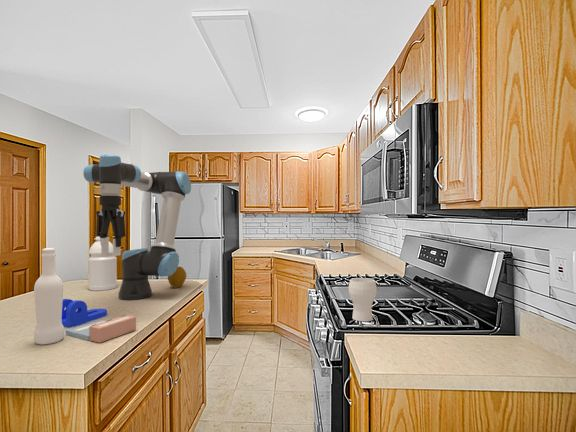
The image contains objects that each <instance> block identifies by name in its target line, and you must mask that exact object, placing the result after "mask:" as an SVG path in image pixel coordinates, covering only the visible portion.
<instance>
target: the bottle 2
mask: <svg viewBox="0 0 576 432" xmlns="http://www.w3.org/2000/svg"><path fill="white" fill-rule="evenodd" d="M107 238H109V239H110V236H109V237H107ZM88 254H89V255H90V256H89V258H88V259H87V264H88V265H87V268H88V269H87V270H88V272H87V274H88V275H87V276H88V278H87V280H88V283H87V287H88V290H89V291H95V292H97V291H100V292H101V291H108V290H113V289H115V288H117V286H118V281H117V279H118V275H117V274H118V272H117V269H118V267H117V266H118V265H117V263H118V261H117V260H118V257H117V256H113V242H111V241H110V240H109V254H107V255H101V238H100V237H99V236H95V242H93V243H92V245H91V246H90V248H89V250H88Z"/></svg>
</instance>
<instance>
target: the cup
mask: <svg viewBox="0 0 576 432" xmlns="http://www.w3.org/2000/svg"><path fill="white" fill-rule="evenodd" d="M377 289H378V288H377V283H376V280H375V279H373V278H368V277H355V278H350V280H349V284H348V294H349V298H350V299H351V302H352V306H353V309H352V310H353V311H352V318H351V319H352V320H354V321H357V322H371V321H373V312H372V311H373V310H372V309H373V302H374V301H375V298H376V296H377V292H378V291H377Z"/></svg>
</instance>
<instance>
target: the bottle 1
mask: <svg viewBox="0 0 576 432" xmlns="http://www.w3.org/2000/svg"><path fill="white" fill-rule="evenodd" d="M55 251H56V250H55V248H54V247H46V248H45V247H44V248H42V249H41V255H40V256H41V275H40V276H39V277H38V279H36V281H35V283H34V287H33V293H34V295H33V296H34V305H35V307H34V308H35V319H36V325H35V329H34V332H33V335H34V336H33V339H34V343H36V344H37V345H42V346H43V345H51V344H55V343H58V342H60V341H61V340H63V338H64V336H65V327H63V325H62V302H63V299H64V298H63V297H64V282H63V280H62V279H61V278H60V276H58V274H57V273H56V252H55Z"/></svg>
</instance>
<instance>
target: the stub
mask: <svg viewBox="0 0 576 432" xmlns="http://www.w3.org/2000/svg"><path fill="white" fill-rule="evenodd" d="M107 320H108V321H105V322H102V323H99V324H95V325H91V326H89V341H91V342H95V343H103V342H106V341H108V340H112V339H114V338H116V337H120V336H123V335H126V334H127V333H130V332H134V331H136V330H137V316H133V315H127V314H126V315H122V316H119V317H115V318H111V319H107Z"/></svg>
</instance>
